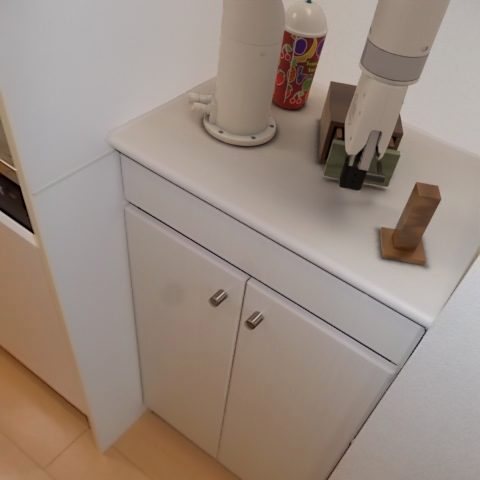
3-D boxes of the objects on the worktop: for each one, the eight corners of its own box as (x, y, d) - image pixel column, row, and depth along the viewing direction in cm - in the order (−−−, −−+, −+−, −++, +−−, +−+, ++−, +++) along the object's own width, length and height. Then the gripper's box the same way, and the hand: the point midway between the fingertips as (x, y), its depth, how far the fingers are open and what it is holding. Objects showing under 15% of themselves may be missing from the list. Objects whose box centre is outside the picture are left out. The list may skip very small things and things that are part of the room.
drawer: (389, 205, 80) (403, 172, 76) (323, 193, 80) (333, 160, 76) (382, 145, 92) (394, 114, 87) (324, 134, 91) (332, 103, 87)
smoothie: (307, 117, 96) (336, -3, 81) (263, 107, 97) (283, -15, 81) (312, 96, 102) (340, -20, 87) (270, 87, 102) (291, -31, 87)
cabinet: (387, 174, 87) (403, 133, 82) (318, 162, 87) (330, 120, 81) (381, 132, 96) (396, 92, 90) (319, 121, 96) (330, 80, 90)
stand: (382, 258, 73) (408, 200, 66) (379, 230, 77) (404, 173, 70) (423, 265, 74) (454, 208, 66) (419, 237, 78) (447, 180, 70)
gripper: (360, 28, 68) (324, 153, 82) (364, 81, 58) (323, 212, 72) (417, 39, 68) (371, 162, 82) (430, 94, 58) (376, 222, 72)
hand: (349, 185), depth 77 cm, fingers closed
